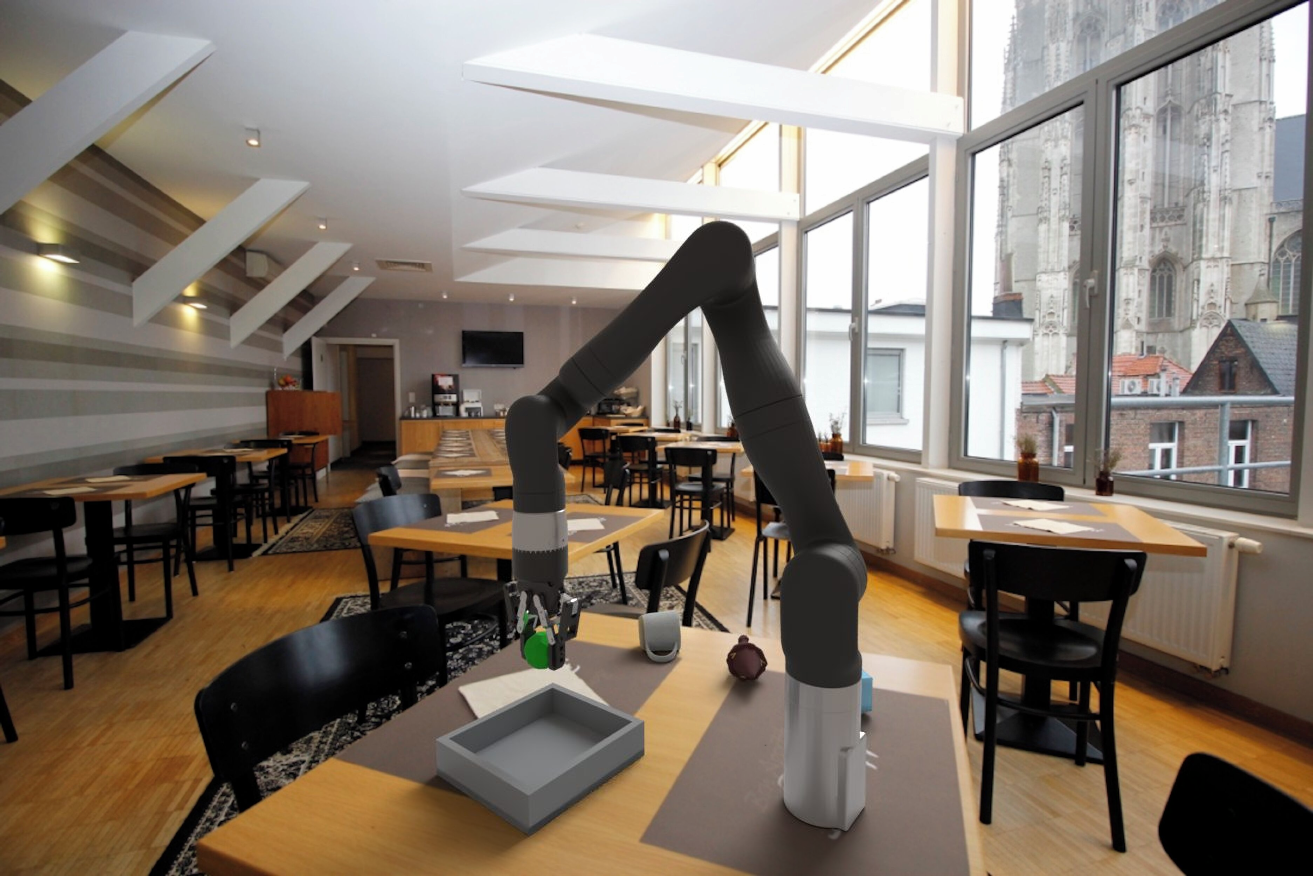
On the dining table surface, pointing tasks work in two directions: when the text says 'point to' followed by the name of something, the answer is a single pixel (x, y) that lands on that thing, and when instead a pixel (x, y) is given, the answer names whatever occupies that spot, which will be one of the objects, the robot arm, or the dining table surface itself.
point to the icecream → (746, 660)
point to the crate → (539, 754)
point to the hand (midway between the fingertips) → (542, 662)
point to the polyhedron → (537, 650)
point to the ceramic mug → (660, 634)
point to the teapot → (866, 692)
